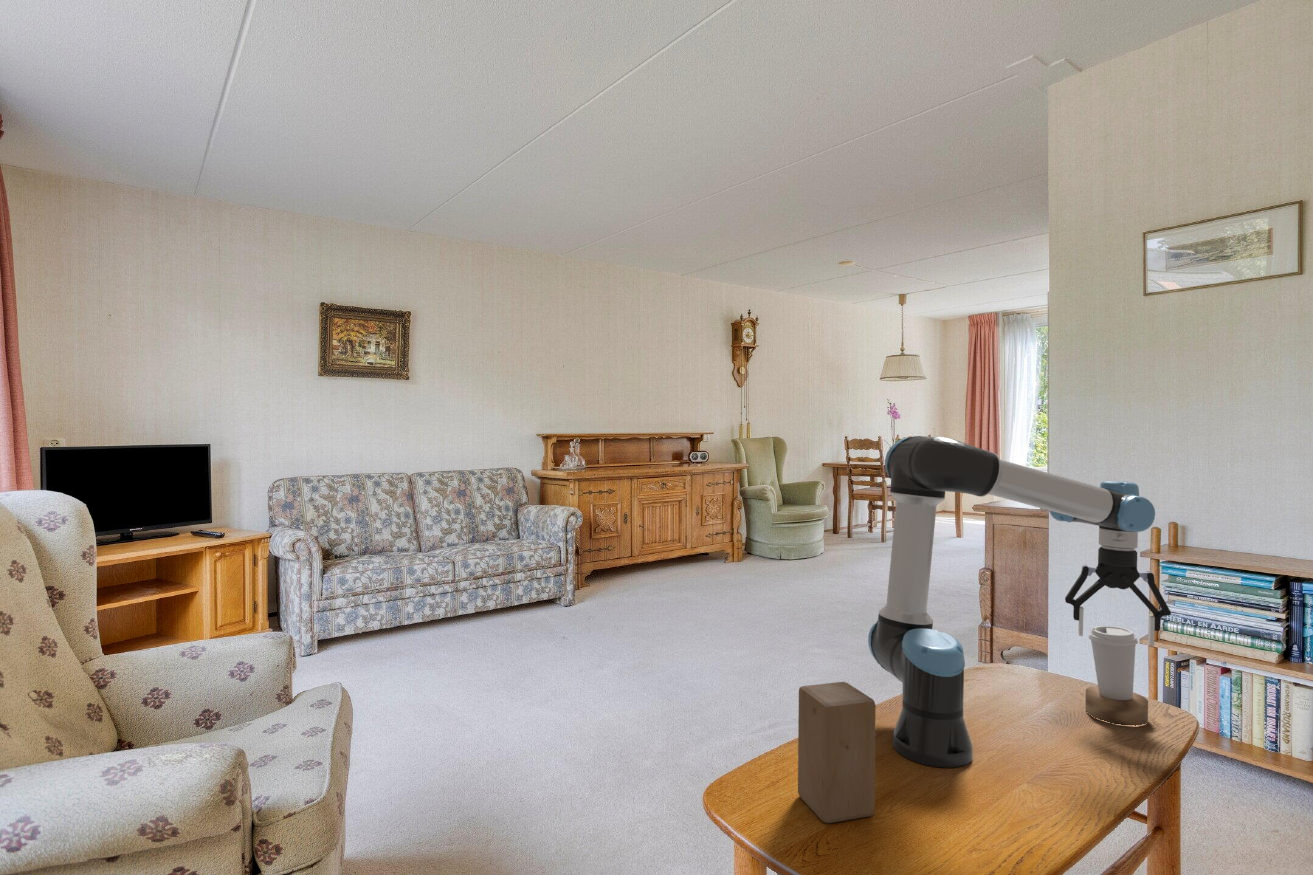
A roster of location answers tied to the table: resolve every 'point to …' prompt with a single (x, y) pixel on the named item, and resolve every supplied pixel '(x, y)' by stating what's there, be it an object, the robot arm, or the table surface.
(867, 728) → the wooden block
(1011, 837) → the table surface
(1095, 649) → the coffee cup
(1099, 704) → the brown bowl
